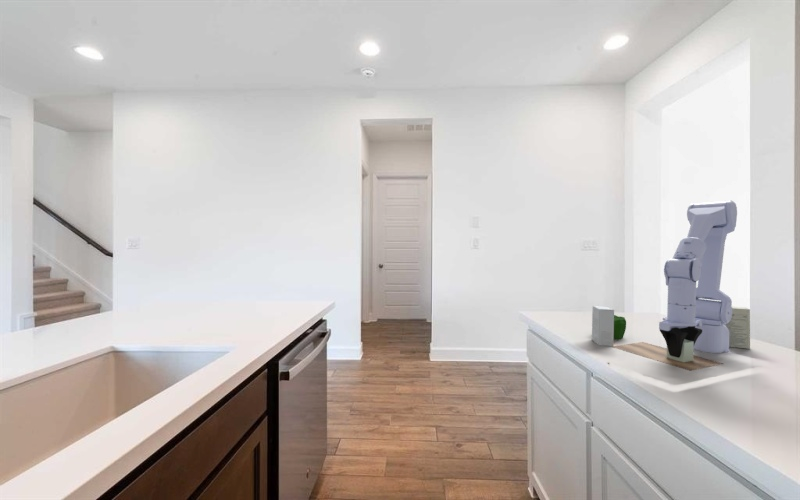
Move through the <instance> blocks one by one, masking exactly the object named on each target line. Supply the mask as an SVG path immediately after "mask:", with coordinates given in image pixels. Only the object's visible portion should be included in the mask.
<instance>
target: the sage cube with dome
mask: <svg viewBox="0 0 800 500" xmlns="http://www.w3.org/2000/svg"><path fill="white" fill-rule="evenodd" d="M666 348H667V358H670V359H674V360H677V361H681V362H688V361H693V355H694V350H695V349H694V341H689V340H686V339H684V342H683V345H682V351H681V355H680V357H679V358H678V357H674V356H671V355H670V354H669V351H668V347H667V346H666Z"/></svg>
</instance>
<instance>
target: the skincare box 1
mask: <svg viewBox="0 0 800 500" xmlns="http://www.w3.org/2000/svg"><path fill="white" fill-rule="evenodd" d="M614 315H615V309H612V308H611V307H608V306H600V305H592V315H591V316H592V317H591V321H592V322H591V341H593V342H594V343H595V344H597V345H598V346H609V347H610V346H611V347H612V346H614V340H615V339H614Z"/></svg>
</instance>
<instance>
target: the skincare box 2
mask: <svg viewBox="0 0 800 500" xmlns="http://www.w3.org/2000/svg"><path fill="white" fill-rule="evenodd" d="M750 319H751V309H750V308H747V307H744V306H732V318H731V320H730V322H729V323H727V324H724V325H725V326H726V327H727V328H728V330H729V348H730V347H731V348H739V349H747V350H748V349H751V320H750Z"/></svg>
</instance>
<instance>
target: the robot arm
mask: <svg viewBox="0 0 800 500" xmlns="http://www.w3.org/2000/svg"><path fill="white" fill-rule="evenodd" d="M686 217H687V221H688V222H689V225H690V227H689V230H688V232H687V233H688V234H687V237H685V238H682V239H681V240H680V241H679V244H678V246H677V248H676V249H675V253H674V254H673V257H672V258H670V259H668V260H667V259H666V261H665V264H664V268H663V275H664V277H665V286H667V308H666V309H667V310H666V311H667V312H666V315H667V317H663V318H662V321H659V322H658V323H659V324H658V326H659V328H658V329H659V332H660V333H661V335H662V336H663V339H664V341H665V343H666V348H667V347H668V351H669V354H670V355H671V356H674V357H678V358H679V357H680V355H681V351H682V345H683V342H684V339H686V340H689V341H694V349H693V350H695V351H696V350H697V351H700V352H704V353H712V354H715V353H716V354H720V353H721V354H722V353H723V352H726V353H729V354H730V353H731V354H733V351H732V352H731V351H730V347H729V330H728V328H727V327H726V326H725V325H724V324H727V323H729V322H730V320H731V318H732V307H733V305H732V302H733V301H732V298H731V297H730V296H729V295H728V294H727V293H725V292H724V291H722V290H720V287H721V279H722V270H723V262H724V261H723V260H724V254H725V253H724V252H725V246H726V245H725V243H726V239H727V236H728V235H729V234H730V233H733V232H734V231H735V228H736V226H737V218H738V207H737V204H736V203H735V201H734V200H728V201H727V200H725V201H711V202H701V203H698V202H697V203H694V202H693V203H690V205H689V206H688V207H687V211H686ZM697 282H698V283H697Z"/></svg>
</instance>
